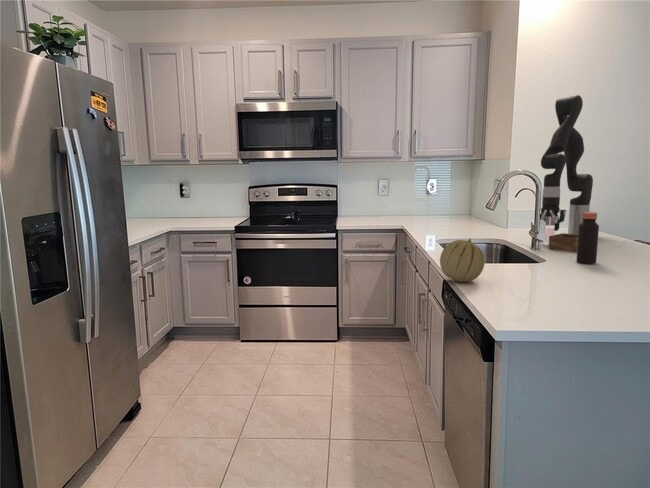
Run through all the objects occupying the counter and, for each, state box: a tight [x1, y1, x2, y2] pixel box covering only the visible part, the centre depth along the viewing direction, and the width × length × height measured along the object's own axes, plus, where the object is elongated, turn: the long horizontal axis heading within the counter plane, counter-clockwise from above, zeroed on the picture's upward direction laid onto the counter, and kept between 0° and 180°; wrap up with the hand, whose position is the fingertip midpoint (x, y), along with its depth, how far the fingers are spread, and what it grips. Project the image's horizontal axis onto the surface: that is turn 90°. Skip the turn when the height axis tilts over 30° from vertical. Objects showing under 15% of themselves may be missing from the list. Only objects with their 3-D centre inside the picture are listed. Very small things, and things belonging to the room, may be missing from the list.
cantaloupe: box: [439, 238, 485, 283], centre depth 149 cm, size 15×15×15 cm
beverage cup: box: [542, 217, 556, 246], centre depth 213 cm, size 6×6×14 cm
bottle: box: [575, 211, 600, 265], centre depth 171 cm, size 7×7×20 cm
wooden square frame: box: [548, 232, 578, 253], centre depth 201 cm, size 12×12×6 cm
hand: (549, 229), depth 213 cm, fingers closed on beverage cup, 6 cm apart
